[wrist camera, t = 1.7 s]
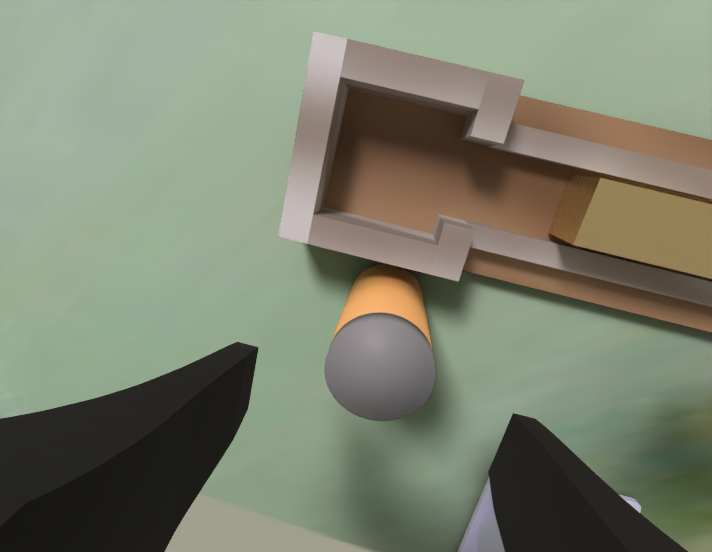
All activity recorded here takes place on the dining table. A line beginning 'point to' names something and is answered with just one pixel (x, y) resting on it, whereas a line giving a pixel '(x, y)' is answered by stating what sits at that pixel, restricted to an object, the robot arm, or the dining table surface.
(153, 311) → the dining table surface
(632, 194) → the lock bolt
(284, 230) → the mount
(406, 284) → the cylinder
